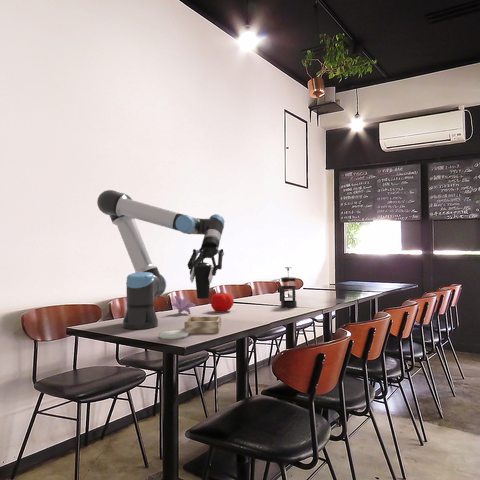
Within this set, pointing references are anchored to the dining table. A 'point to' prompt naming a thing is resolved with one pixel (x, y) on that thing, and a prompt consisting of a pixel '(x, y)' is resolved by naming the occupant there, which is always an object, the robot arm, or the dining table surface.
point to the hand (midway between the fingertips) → (200, 280)
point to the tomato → (221, 302)
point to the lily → (183, 304)
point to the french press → (282, 293)
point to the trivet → (173, 334)
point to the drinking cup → (202, 279)
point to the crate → (203, 324)
